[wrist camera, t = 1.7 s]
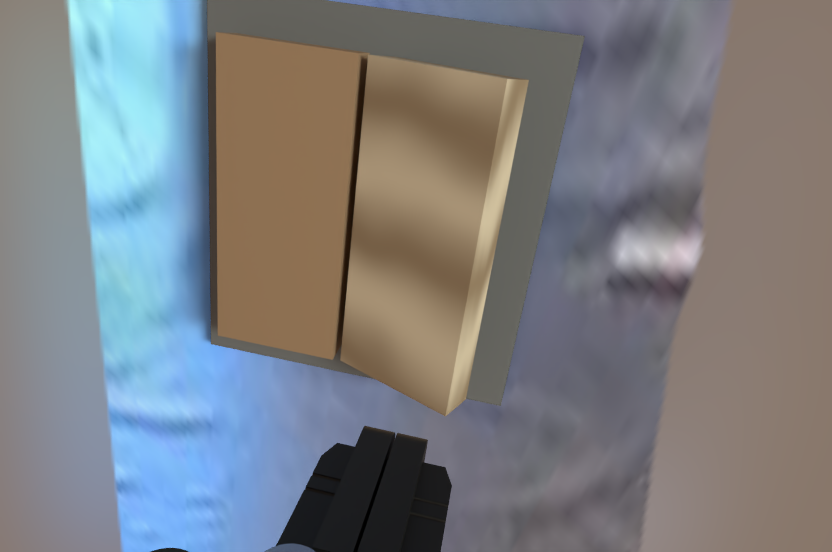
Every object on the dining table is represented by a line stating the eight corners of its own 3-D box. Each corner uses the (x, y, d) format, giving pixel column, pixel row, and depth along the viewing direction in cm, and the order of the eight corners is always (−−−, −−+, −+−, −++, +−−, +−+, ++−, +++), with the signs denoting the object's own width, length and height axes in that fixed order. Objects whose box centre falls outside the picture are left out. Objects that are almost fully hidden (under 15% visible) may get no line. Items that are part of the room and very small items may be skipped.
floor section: (213, -15, 28) (184, -21, 26) (583, 36, 26) (589, 35, 24) (215, 339, 36) (193, 360, 34) (501, 400, 34) (499, 426, 31)
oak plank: (395, 56, 27) (368, 54, 26) (528, 79, 24) (507, 79, 22) (363, 347, 33) (340, 360, 32) (465, 399, 30) (445, 416, 28)
